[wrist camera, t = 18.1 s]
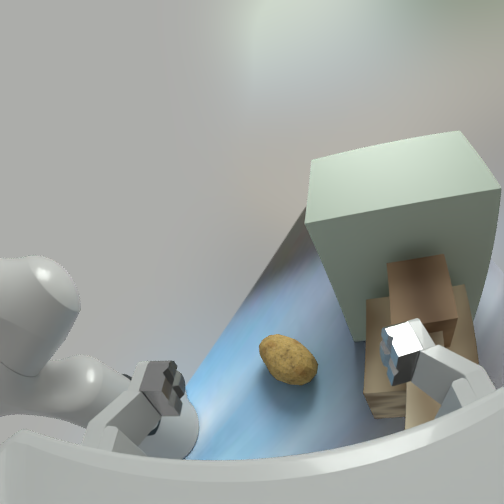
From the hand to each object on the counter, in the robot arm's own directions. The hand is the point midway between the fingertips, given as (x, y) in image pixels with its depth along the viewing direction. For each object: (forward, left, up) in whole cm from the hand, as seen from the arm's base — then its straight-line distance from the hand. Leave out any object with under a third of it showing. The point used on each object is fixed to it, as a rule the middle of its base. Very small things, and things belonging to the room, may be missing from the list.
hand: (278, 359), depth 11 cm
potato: (-13, +13, -34) cm, 39 cm away
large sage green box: (+7, +23, -34) cm, 41 cm away
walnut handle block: (+7, +7, -19) cm, 21 cm away
